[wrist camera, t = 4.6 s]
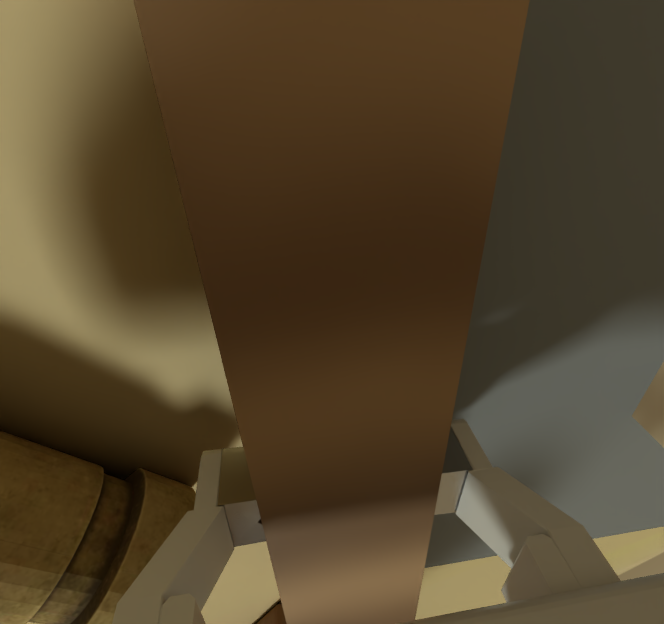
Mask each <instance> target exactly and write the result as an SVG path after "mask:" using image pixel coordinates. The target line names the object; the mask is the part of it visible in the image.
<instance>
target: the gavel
mask: <svg viewBox="0 0 664 624" xmlns="http://www.w3.org/2000/svg"><path fill="white" fill-rule="evenodd" d="M195 497H196V493H195V491H194V489H193V488H191V487H190V486H188V485H185V484H183V483H180V482H177V481H174V480H172V479H169V478H166V477H163V476H161V475H158V474H155V473H153V472H150V471H147V470H144V469H142V468H138V469H137V470H136V471H135V472H133V473H132V474H131V475H130V476H129V477H127V478H126V479H125V480H121V479H118V478H115V477H113V476H110V475H107V474H104V471H103V468H102V467H101V466H99V465H96V464H93V463H91V462H88V461H85V460H82V459H79V458H76V457H74V456H71V455H68V454H65V453H62V452H59V451H57V450H54V449H51V448H48V447H45V446H42V445H39V444H37V443H34V442H31V441H28V440H25V439H22V438H20V437H17V436H14V435H11V434H8V433H5V432H3V431H0V624H26V623H27V622H33V623H40V624H112V622H113V618H114V614H115V610H116V606H117V603H118V602H119V600H120V599H121V598H122V596H123V595H124V594H125V592H126V591H127V590H128V588H129V587H130V586H131V585H132V583H133V582H134V581H135V579H136V578H137V577H138V575H139V574H140V573H141V571H142V570H143V569H144V568H145V566H146V565H147V564H148V562H149V561H150V560H151V558H152V557H153V556H154V554H155V553H156V552H157V551H158V549H159V548H160V547H161V545H162V544H163V543H164V541H165V540H166V539H167V537H168V536H169V535H170V534H171V532H172V531H173V530H174V528H175V527H176V526H177V524H178V523H179V522H180V520H181V519H182V518H183V517H184V515H185V514H186V513H187V511H191V510H194V504H195Z"/></svg>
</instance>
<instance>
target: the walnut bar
mask: <svg viewBox="0 0 664 624" xmlns="http://www.w3.org/2000/svg"><path fill="white" fill-rule="evenodd" d="M529 1H530V0H134V4H135V8H136V12H137V16H138V20H139V24H140V29H141V33H142V37H143V41H144V45H145V49H146V53H147V57H148V61H149V65H150V69H151V73H152V77H153V81H154V86H155V90H156V94H157V98H158V102H159V106H160V110H161V114H162V118H163V122H164V126H165V130H166V134H167V138H168V143H169V147H170V151H171V155H172V159H173V163H174V167H175V171H176V175H177V179H178V183H179V187H180V191H181V195H182V200H183V204H184V208H185V212H186V216H187V220H188V224H189V228H190V232H191V236H192V240H193V244H194V248H195V252H196V257H197V261H198V265H199V269H200V273H201V277H202V281H203V285H204V289H205V293H206V297H207V301H208V305H209V309H210V314H211V318H212V322H213V326H214V330H215V334H216V338H217V342H218V346H219V350H220V354H221V358H222V362H223V366H224V371H225V375H226V379H227V383H228V387H229V391H230V395H231V399H232V403H233V407H234V411H235V415H236V419H237V423H238V428H239V432H240V436H241V440H242V444H243V448H244V452H245V456H246V460H247V464H248V468H249V472H250V476H251V480H252V485H253V489H254V493H255V497H256V501H257V505H258V509H259V513H260V517H261V521H262V525H263V529H264V533H265V537H266V542H267V546H268V550H269V554H270V558H271V562H272V566H273V570H274V574H275V578H276V582H277V586H278V590H279V594H280V599H281V603H282V607H283V611H284V615H285V619H286V623H287V624H398V623H403V622H408V621H414V620H415V616H416V611H417V605H418V600H419V595H420V589H421V584H422V578H423V573H424V568H425V562H426V557H427V551H428V546H429V541H430V535H431V530H432V524H433V519H434V514H435V508H436V503H437V497H438V492H439V487H440V481H441V476H442V470H443V465H444V460H445V454H446V449H447V444H448V438H449V433H450V427H451V422H452V417H453V411H454V406H455V400H456V395H457V390H458V384H459V379H460V373H461V368H462V363H463V357H464V352H465V346H466V341H467V336H468V330H469V325H470V319H471V314H472V309H473V303H474V298H475V292H476V287H477V282H478V276H479V271H480V265H481V260H482V255H483V249H484V244H485V238H486V233H487V228H488V222H489V217H490V212H491V206H492V201H493V195H494V190H495V185H496V179H497V174H498V168H499V163H500V158H501V152H502V147H503V141H504V136H505V131H506V125H507V120H508V114H509V109H510V104H511V98H512V93H513V87H514V82H515V77H516V71H517V66H518V60H519V55H520V50H521V44H522V39H523V33H524V28H525V23H526V17H527V12H528V6H529Z"/></svg>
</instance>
